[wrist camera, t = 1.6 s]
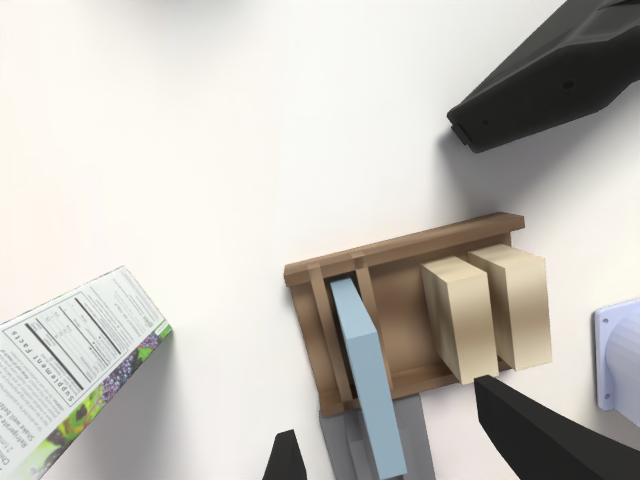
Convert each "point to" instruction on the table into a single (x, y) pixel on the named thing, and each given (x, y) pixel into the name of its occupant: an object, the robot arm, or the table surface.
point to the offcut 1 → (460, 317)
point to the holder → (355, 448)
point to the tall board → (369, 377)
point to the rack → (385, 306)
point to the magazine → (555, 74)
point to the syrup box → (69, 367)
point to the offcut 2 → (517, 304)
